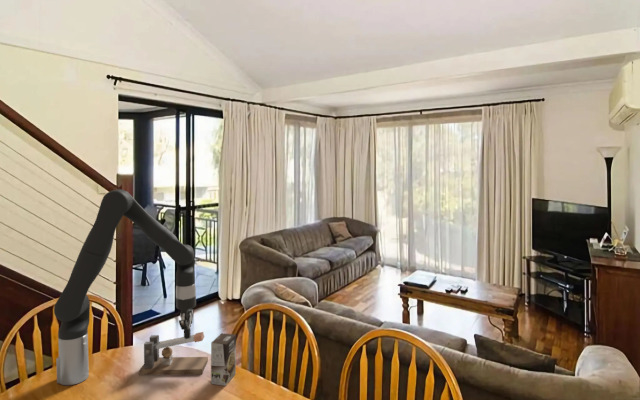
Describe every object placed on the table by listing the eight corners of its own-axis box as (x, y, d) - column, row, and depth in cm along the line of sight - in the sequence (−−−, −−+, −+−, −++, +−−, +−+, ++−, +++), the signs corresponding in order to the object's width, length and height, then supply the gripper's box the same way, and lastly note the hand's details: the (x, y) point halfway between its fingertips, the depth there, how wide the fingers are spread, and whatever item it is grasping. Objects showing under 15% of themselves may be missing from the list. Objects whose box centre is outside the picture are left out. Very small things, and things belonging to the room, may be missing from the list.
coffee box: (226, 386, 141) (226, 344, 140) (210, 384, 142) (210, 342, 141) (236, 373, 150) (236, 334, 148) (221, 371, 151) (221, 332, 150)
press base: (139, 375, 147) (138, 345, 146) (148, 362, 157) (148, 334, 156) (202, 374, 149) (202, 344, 148) (207, 361, 159) (207, 333, 158)
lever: (148, 351, 150) (146, 346, 150) (151, 347, 153) (150, 342, 153) (202, 340, 151) (201, 335, 151) (204, 336, 154) (203, 331, 154)
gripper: (181, 290, 157) (182, 330, 159) (170, 301, 144) (172, 345, 145) (199, 289, 158) (200, 330, 159) (191, 300, 145) (192, 344, 146)
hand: (187, 337), depth 152 cm, fingers closed
